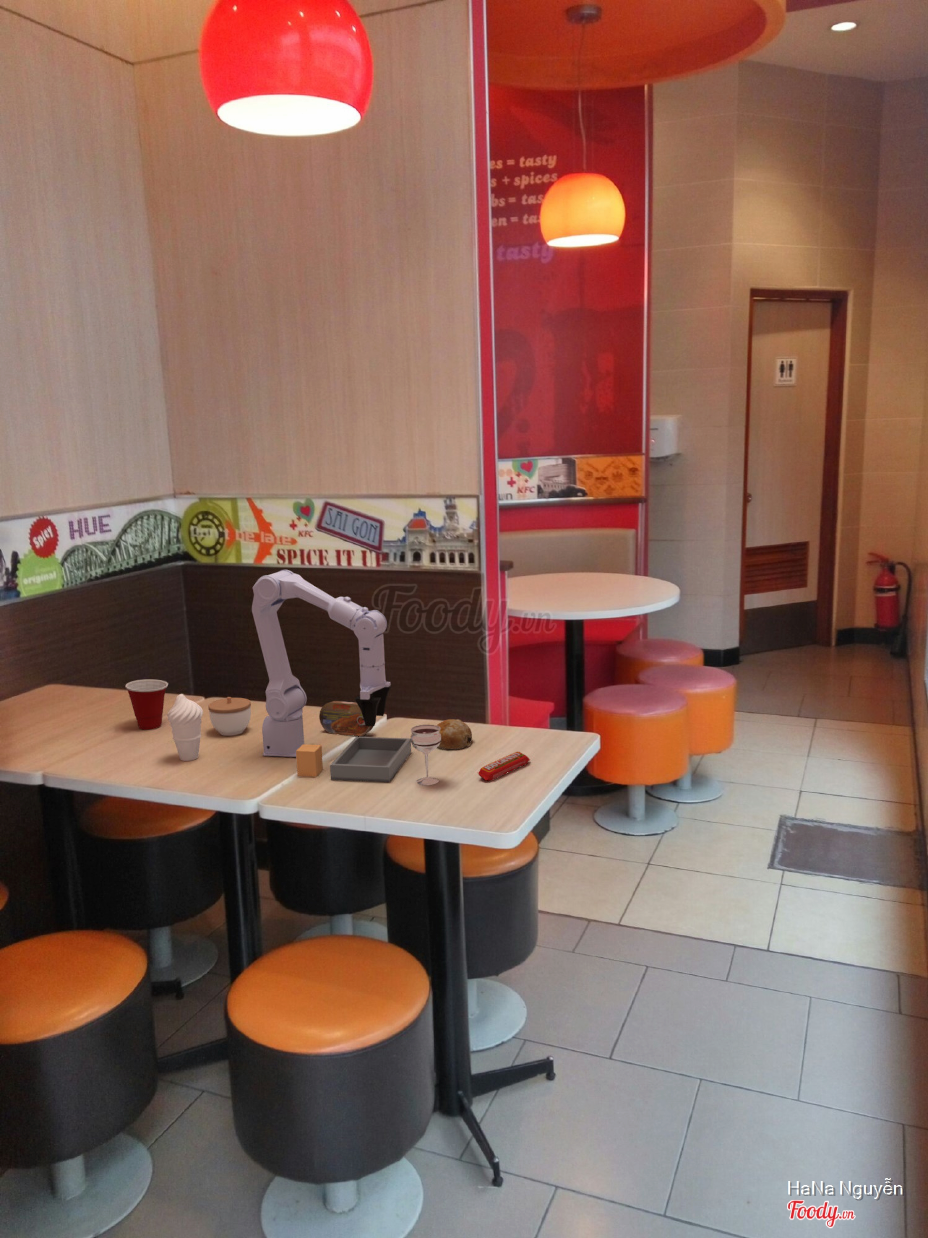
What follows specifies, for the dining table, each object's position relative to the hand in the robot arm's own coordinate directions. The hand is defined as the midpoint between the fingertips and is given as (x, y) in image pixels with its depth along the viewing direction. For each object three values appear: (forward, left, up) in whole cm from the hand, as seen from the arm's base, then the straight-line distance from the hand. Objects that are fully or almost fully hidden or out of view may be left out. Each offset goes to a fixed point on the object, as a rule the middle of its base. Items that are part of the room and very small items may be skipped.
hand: (374, 720), depth 228 cm
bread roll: (+15, +13, -10) cm, 23 cm away
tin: (-13, +18, -10) cm, 25 cm away
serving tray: (0, -4, -10) cm, 10 cm away
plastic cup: (-68, +18, -10) cm, 71 cm away
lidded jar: (-44, +16, -10) cm, 48 cm away
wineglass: (+15, -12, -10) cm, 21 cm away
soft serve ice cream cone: (-46, -4, -10) cm, 47 cm away
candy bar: (+31, -4, -10) cm, 33 cm away
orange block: (-13, -10, -10) cm, 19 cm away
